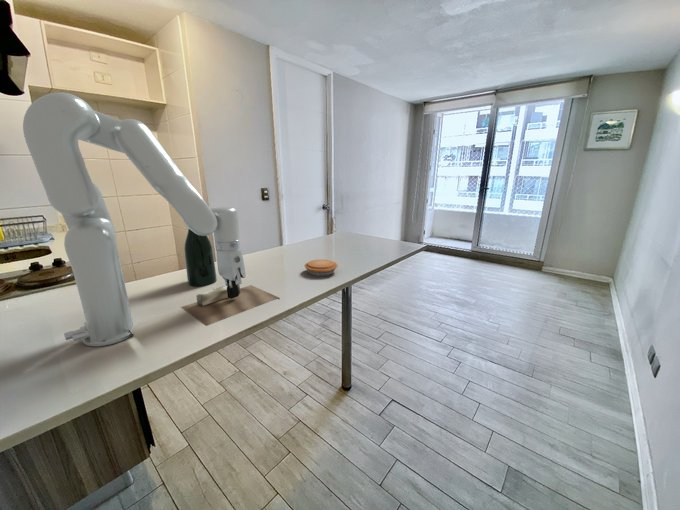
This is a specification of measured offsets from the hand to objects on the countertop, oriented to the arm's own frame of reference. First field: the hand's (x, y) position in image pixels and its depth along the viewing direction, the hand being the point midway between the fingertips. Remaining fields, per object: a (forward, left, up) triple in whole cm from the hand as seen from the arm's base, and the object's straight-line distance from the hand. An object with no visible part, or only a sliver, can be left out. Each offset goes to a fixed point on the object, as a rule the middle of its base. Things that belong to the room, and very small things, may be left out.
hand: (233, 296), depth 96 cm
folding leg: (-3, +4, -1) cm, 5 cm away
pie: (+45, +1, -3) cm, 45 cm away
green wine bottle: (+1, +25, -3) cm, 25 cm away
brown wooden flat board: (-1, -1, -3) cm, 3 cm away
